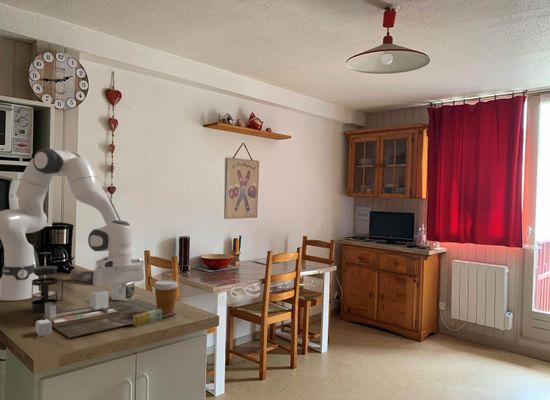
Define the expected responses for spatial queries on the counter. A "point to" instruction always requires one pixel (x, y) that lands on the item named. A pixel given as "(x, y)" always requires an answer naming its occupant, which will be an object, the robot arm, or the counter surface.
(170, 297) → the disposable coffee cup
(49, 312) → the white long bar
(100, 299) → the block
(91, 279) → the decorative bottle
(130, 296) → the medicine bottle
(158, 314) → the medication box
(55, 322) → the gauge board
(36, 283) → the french press
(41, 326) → the usb wall charger
